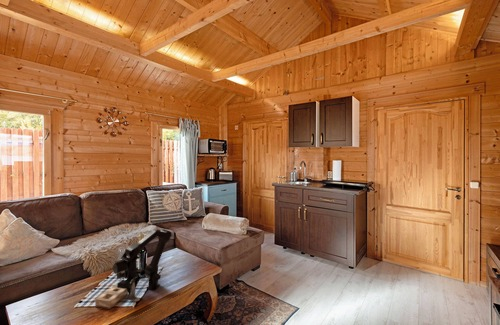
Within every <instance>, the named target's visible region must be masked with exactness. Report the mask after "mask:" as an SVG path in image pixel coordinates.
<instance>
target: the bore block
mask: <svg viewBox="0 0 500 325" xmlns="http://www.w3.org/2000/svg"><path fill="white" fill-rule="evenodd" d="M127 295H128V291H127V289H123V288H117V285H113V286H112V287H110V288H109V289H107V290H106V291H104V292H103V293H102V294H100V295H99V296H98V297H96V298H95V299H94V300H95V303H94V304H95V307H97V308H103V309H109V310H110V309H111V308H113V307H114V306H116V305H117V304H118V303H119V302H120V301H122V300H123V299H124V298H125V297H127Z"/></svg>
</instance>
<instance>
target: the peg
mask: <svg viewBox="0 0 500 325" xmlns="http://www.w3.org/2000/svg"><path fill="white" fill-rule="evenodd" d="M131 283H132V284H133V286H132V290H131V293H130V294H129V293H128V296H127V297H128V298H127V299H128V300H130V301H131V300H134V299H135V298H136V288H135V281H131Z"/></svg>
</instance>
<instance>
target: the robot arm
mask: <svg viewBox="0 0 500 325" xmlns="http://www.w3.org/2000/svg"><path fill="white" fill-rule="evenodd" d="M157 237H158V238H157ZM171 237H172V231H170V230H167V229H152V230H151V231H150V232H149V233H147V235H145V236H144V237H143V238H142V239H140V240H139V241H137V242H136V243H133V244H131V245H129V246H127V247H126V249H125V250H124V253H123V254H122V256H121V258H120V259H121V260H120V259H119V260H117V261H115V262H114V263H113V265H112V272H113V273H114V274H115V275H116V278H117V279H119V282H118V283H117V284H116V286H117V288H123V289H127V291H128V293H129V294H130V293H131V290H132V286H133V284H132V283H131V281H135V289H136V288H137V286H138V284H139V282H140V281H141V278H142V276H145V277H146V278H147V279H148V286H147V287H146V289H147V290H152V291H156V290H157V289H158V288H159V287H160V286H161V284H160V283H159V280H161V277H162V276H161V274H159V273H158V272H159V262H160V260H161V258H162V254H163V252H164V249H165V246H166V244H167V243H168V242H169V241H170V239H171ZM156 238H157V239H158V243H157V246H156V248H155V251H154V254H153V256H152V259H151V261H150V263H149V264H148V265H147V264H146V265H145V268H144V269H141V268H139V267H138V266H137V262H138V261H137V260H139V259H140V258H141V257H140V256H138V255H140V253H141V251H142V250H143V248H145V247H146V246H147V245H148V244H149V243H151V242H152V241H154V239H156ZM120 279H122V280H120Z"/></svg>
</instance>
